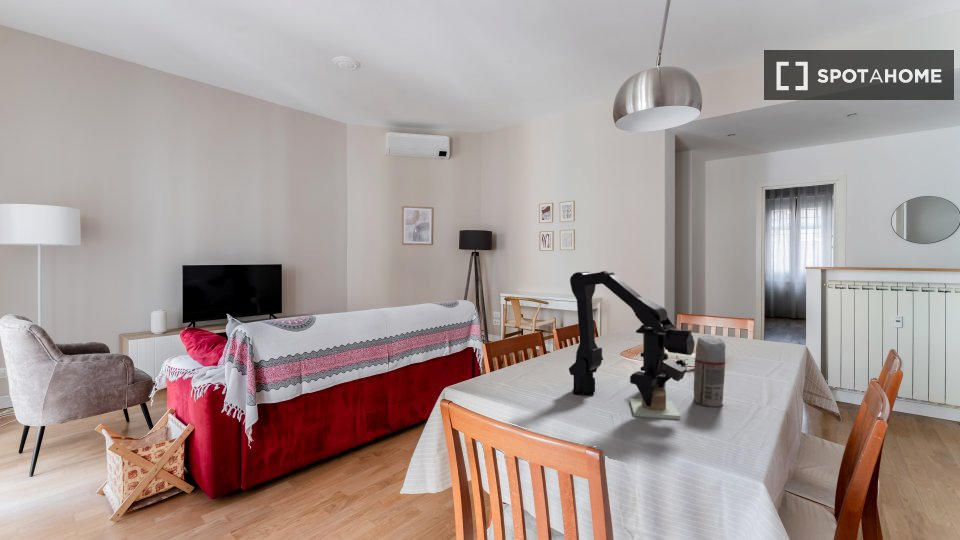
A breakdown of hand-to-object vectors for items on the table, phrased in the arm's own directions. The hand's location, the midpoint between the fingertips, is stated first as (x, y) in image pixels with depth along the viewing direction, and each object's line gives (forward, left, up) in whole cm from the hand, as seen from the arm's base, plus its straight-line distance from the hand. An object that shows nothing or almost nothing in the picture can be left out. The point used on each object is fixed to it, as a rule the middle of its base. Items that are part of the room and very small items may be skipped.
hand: (653, 403), depth 123 cm
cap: (0, 0, -1) cm, 1 cm away
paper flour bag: (+17, +10, -2) cm, 20 cm away
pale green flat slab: (0, 0, -2) cm, 2 cm away
